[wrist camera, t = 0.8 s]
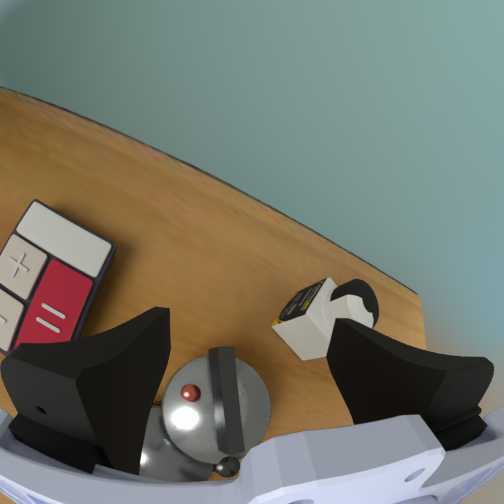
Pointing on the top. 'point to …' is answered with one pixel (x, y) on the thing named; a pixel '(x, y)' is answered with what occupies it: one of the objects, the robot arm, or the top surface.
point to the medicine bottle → (324, 314)
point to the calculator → (49, 277)
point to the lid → (216, 409)
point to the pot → (168, 455)
